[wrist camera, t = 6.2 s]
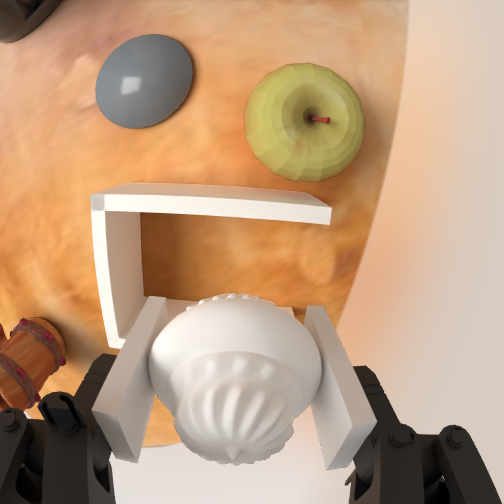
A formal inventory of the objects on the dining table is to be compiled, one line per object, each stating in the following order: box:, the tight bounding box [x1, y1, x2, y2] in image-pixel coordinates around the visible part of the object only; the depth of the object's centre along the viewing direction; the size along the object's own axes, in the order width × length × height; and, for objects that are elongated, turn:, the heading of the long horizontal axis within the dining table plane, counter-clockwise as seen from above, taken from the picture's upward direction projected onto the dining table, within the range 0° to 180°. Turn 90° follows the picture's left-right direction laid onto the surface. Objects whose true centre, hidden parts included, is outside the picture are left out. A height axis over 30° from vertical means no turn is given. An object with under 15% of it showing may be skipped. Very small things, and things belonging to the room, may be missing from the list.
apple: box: [244, 63, 365, 182], centre depth 21 cm, size 10×10×8 cm
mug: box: [0, 317, 66, 412], centre depth 24 cm, size 15×8×15 cm, turn 66°
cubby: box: [91, 182, 332, 349], centre depth 25 cm, size 13×17×8 cm
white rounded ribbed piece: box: [148, 292, 322, 466], centre depth 10 cm, size 6×6×7 cm
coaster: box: [96, 34, 193, 128], centre depth 22 cm, size 10×10×1 cm
